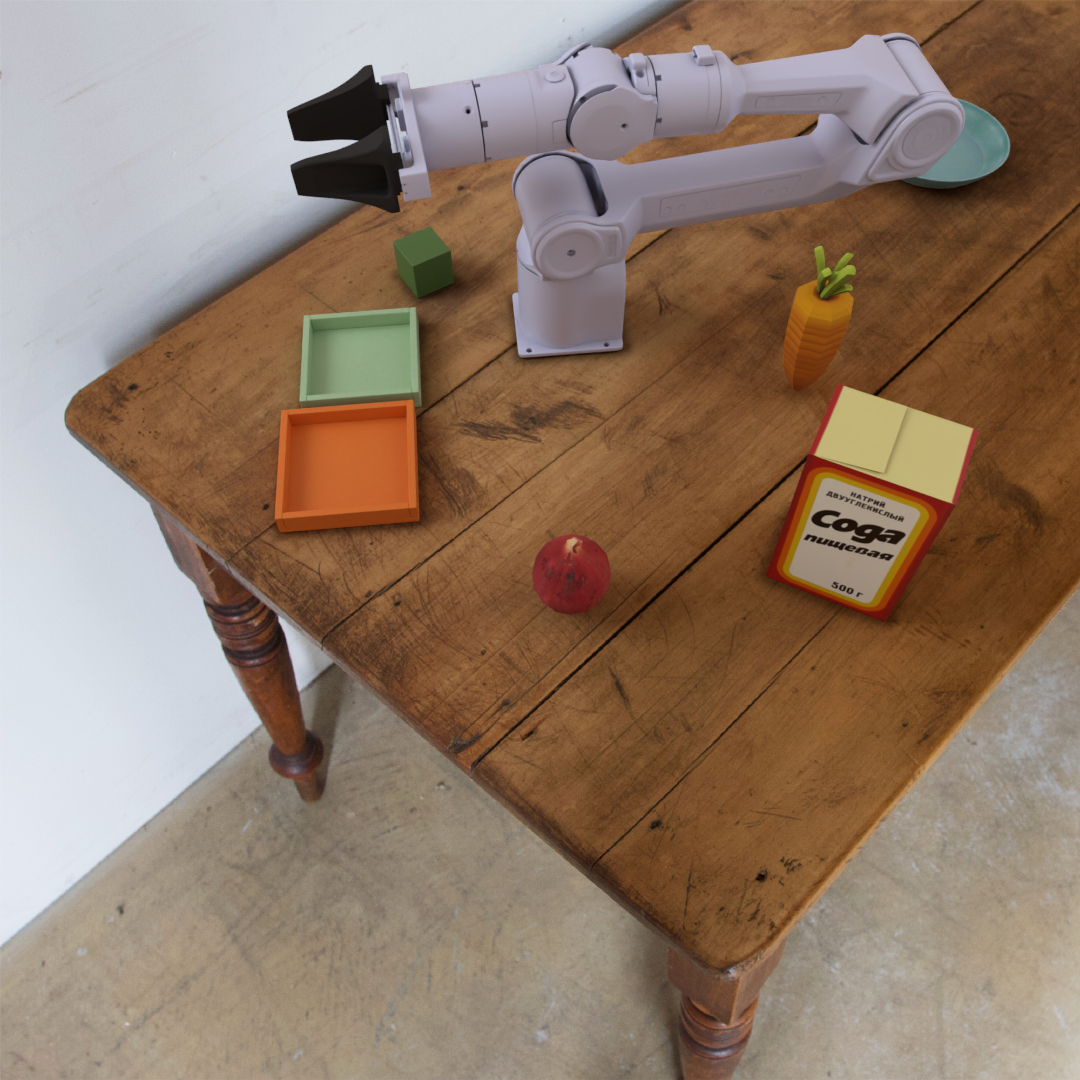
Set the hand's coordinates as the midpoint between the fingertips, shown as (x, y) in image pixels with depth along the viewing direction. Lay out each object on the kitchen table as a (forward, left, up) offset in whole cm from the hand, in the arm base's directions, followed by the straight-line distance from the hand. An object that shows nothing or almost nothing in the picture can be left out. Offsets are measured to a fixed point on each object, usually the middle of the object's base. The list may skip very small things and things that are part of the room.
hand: (292, 152), depth 72 cm
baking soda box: (-39, +26, -22) cm, 51 cm away
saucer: (-61, -22, -22) cm, 68 cm away
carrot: (-40, +8, -22) cm, 46 cm away
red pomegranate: (-18, +27, -22) cm, 39 cm away
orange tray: (-1, +13, -22) cm, 25 cm away
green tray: (-2, +1, -22) cm, 22 cm away
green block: (-8, -9, -22) cm, 25 cm away
